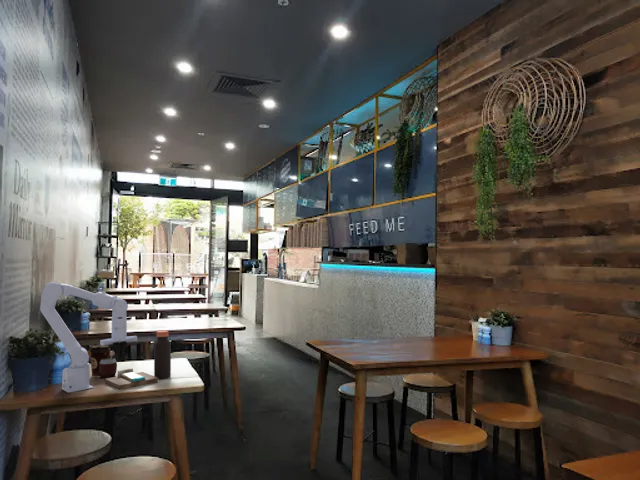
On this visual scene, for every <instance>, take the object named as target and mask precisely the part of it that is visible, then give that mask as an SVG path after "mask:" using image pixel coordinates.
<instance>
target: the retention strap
mask: <svg viewBox="0 0 640 480" xmlns="http://www.w3.org/2000/svg"><path fill="white" fill-rule="evenodd" d="M135 373H136V372H134V371H133V372H128V373H122V374H121V376H123V377H125V378H128V379H130V380H132V381H133V382H135V381H140V380H145V377H144V376H140V375H138V374H135Z"/></svg>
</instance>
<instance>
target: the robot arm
mask: <svg viewBox="0 0 640 480" xmlns="http://www.w3.org/2000/svg"><path fill="white" fill-rule="evenodd" d="M61 295H62V296H63V297H68V296H72V297H73V296H75V297H76V298H81V299H85V300H88V301H91V303H92V305H93V306H97V307H100V308H102V309H105V310H112V313H111V315H112V316H111V338H105V339H100V340H99V345H107V346H109V345H110V347H111V349H112V351H113V350H114V355H115V360H116V362H121V361H123V360H122V359H123V356H124V354H125V353H124V352H125V351H126V348H127V346H128V343H129V342H138V336H137V335H130V336H127V333H128V332H127V331H128V330H127V328H128V326H127V324H128V323H127V319H128V318H127V317H128V316H127V310H128V308H129V306H128V302H127V301H126V300H125V299H123V298H121V297H118V295H111V294H108V293H106V291H103V290H102V291H98V292H95V293H94V292H92V291H89V290H86V289H83V288H80V287H77V286H75V285H71V284H66V283H59V282H56V281H50V282H48V283H47V284H45V286H44V288H43V290H42V292H41V296H40V297H41V298H40V306H39V307H40V308H39V309H40V313H41V314H42V316H44V318H45V320H46V321H47V323H48V325H49V326H50V327H51V329H52V330H53V331H54V333H55V335H56V336H57V337H58V339H59V340H60V342H61V343H62V344H63V346H64V347H65V349H66V351H67V352H68V354H69V356H70V361H71V363H70V364H69V366H68V367H65V368H63V369H62V372H61V373H62V377H61V381H62V382H61V389H62V390H63V391H64V392H66V393H74V392H79V391H84V390H88V389H93V388H94V386H92V385H90V380H91V379H90V374H91V373H90V372H91V371H90V370H91V362H90V356H89V353H88V350H87V349H86V348H85V347H83V346H81V344H80V343H79V341H78V340H77V339H76V337H75V336H74V335H73V333H72V332H71V330H70V329H69V328H68V326H67V325H66V323H65V322H64V320H63V318H62V317H61V315H60V314H59V312H58V311H57V310H56V305H57V301H58V300H59V298H60V297H61ZM89 362H90V363H89Z"/></svg>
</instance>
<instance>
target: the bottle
mask: <svg viewBox="0 0 640 480" xmlns="http://www.w3.org/2000/svg"><path fill="white" fill-rule="evenodd" d="M169 336H170V335H169V330H166V329H165V330H164V329H163V330H157V331H156V339H157V340H156V341H154V344H153V345H154V346H153V348H154V349H153V351H154V352H153V353H154V354H153V357H154V359H153V361H154V363H153V366H154V367H153V368H154V369H153V371H154V372H153V374H154V375H153V376H155V377H157V378H158V380H166V379H169V378H171V375H172V373H171V372H172V368H171V367H172V366H171V365H172V362H171V361H172V360H171V359H172V358H171V357H172V355H171V353H172V351H171V350H172V346H171V345H172V342H171V340H170V339H168V338H169Z"/></svg>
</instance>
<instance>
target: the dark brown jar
mask: <svg viewBox="0 0 640 480" xmlns="http://www.w3.org/2000/svg"><path fill="white" fill-rule="evenodd" d="M111 351H112V348H110V346H109V345H100V344H97V345H92V346H91V348H90V349H89V353H90V356H89V359H90V370H91V376H92V377H95V378H100V377H101V376H100V373H99V364H100V361H101V360H102V359H107V358H111V355H110V354H111Z"/></svg>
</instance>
